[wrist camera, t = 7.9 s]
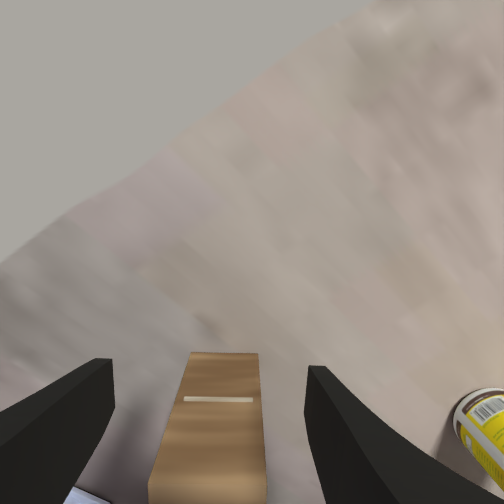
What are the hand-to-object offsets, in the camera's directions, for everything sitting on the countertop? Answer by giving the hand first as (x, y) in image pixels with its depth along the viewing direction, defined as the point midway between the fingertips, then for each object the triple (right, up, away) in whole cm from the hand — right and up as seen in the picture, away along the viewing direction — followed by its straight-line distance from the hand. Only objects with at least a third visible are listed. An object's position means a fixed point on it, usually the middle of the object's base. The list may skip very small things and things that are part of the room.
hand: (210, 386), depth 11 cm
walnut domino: (-1, -3, +12) cm, 12 cm away
